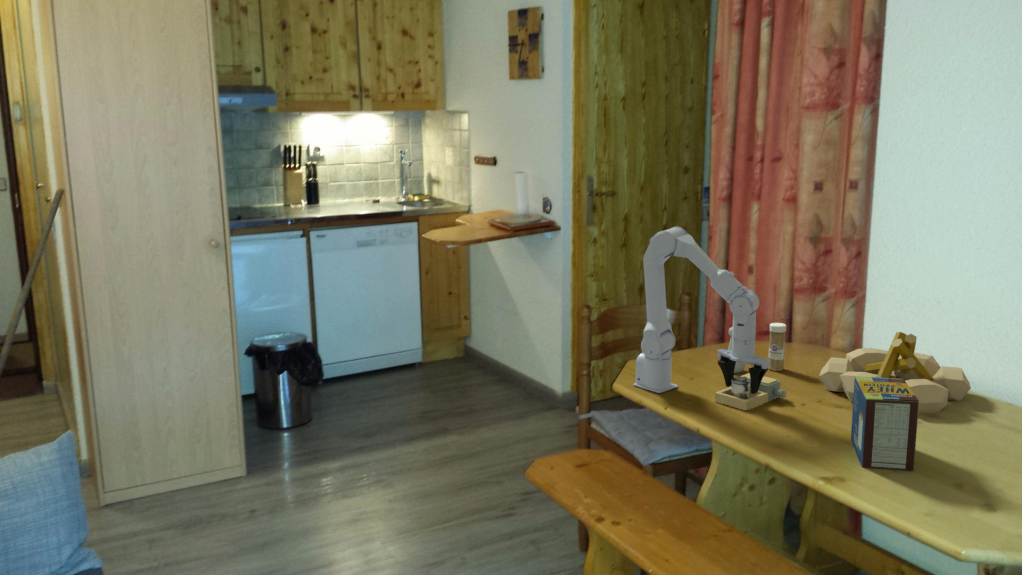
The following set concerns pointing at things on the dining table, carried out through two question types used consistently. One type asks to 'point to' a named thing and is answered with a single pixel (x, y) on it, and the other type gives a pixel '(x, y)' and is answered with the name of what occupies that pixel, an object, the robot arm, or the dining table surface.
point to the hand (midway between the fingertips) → (741, 389)
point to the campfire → (899, 373)
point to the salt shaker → (739, 365)
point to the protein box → (884, 423)
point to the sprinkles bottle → (777, 346)
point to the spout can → (740, 387)
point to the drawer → (766, 393)
